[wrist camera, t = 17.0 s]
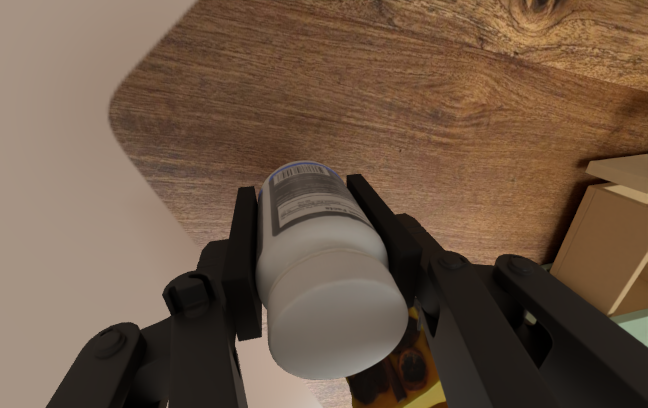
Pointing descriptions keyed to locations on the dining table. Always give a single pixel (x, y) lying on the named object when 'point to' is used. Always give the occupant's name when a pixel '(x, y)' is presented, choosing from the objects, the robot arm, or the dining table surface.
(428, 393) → the candle
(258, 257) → the pill bottle
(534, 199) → the dining table surface
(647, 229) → the drawer
